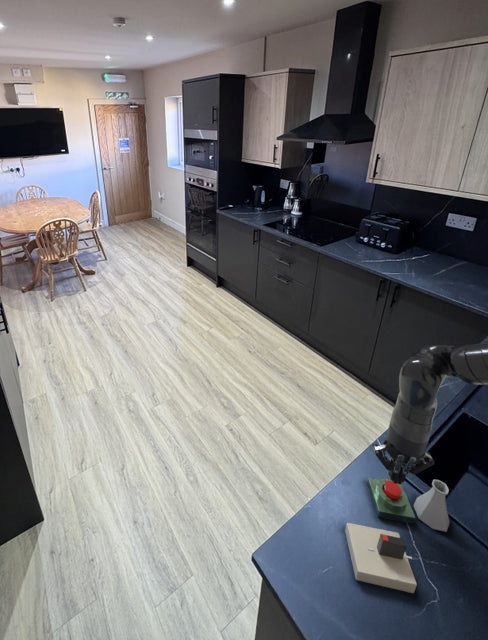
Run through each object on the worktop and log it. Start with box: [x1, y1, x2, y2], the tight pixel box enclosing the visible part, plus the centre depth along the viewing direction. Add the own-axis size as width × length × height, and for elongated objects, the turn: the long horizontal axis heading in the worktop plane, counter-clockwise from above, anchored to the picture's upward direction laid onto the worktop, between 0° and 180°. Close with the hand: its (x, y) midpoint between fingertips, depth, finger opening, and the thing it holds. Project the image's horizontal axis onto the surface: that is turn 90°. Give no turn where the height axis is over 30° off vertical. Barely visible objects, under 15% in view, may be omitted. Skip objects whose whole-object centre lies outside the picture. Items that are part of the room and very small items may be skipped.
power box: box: [366, 477, 416, 525], centre depth 81 cm, size 8×8×4 cm
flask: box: [413, 479, 451, 533], centre depth 77 cm, size 7×7×10 cm
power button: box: [384, 481, 402, 501], centre depth 80 cm, size 4×4×2 cm
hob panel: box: [344, 522, 418, 594], centre depth 70 cm, size 12×9×3 cm
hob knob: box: [377, 534, 407, 559], centre depth 69 cm, size 5×1×5 cm, turn 78°
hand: (395, 480), depth 79 cm, fingers closed
